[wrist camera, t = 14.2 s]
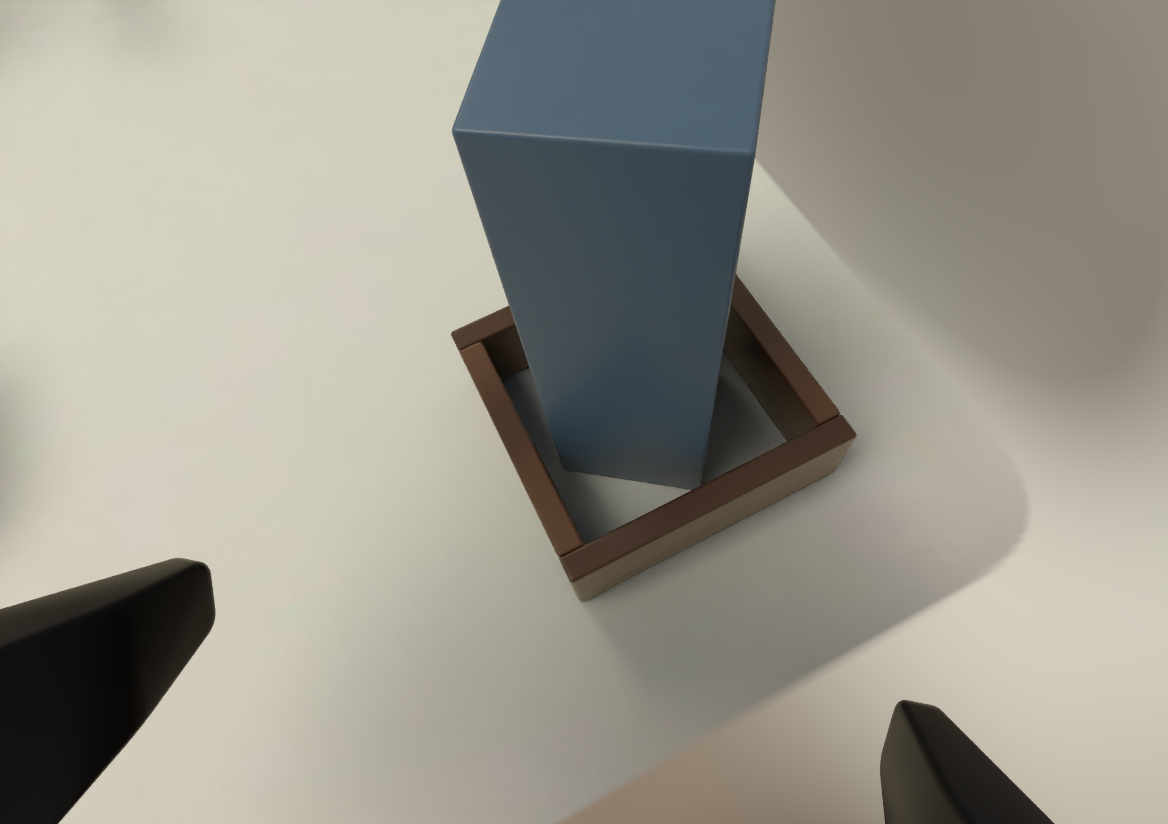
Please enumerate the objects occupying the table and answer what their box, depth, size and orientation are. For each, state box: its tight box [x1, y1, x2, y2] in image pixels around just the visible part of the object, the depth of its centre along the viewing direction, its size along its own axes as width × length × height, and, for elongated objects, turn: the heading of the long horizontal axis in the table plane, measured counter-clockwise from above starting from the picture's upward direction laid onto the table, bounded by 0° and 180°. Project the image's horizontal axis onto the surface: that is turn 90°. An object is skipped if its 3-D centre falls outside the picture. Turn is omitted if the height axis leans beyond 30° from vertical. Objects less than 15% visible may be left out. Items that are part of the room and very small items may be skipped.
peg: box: [452, 0, 775, 489], centre depth 15 cm, size 4×4×12 cm
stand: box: [451, 275, 856, 602], centre depth 20 cm, size 8×8×2 cm
